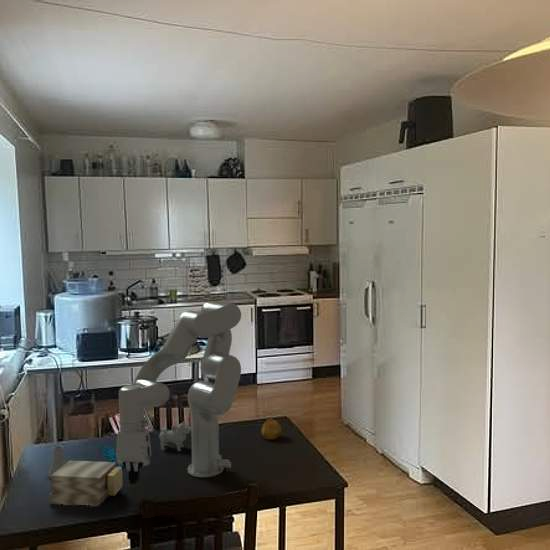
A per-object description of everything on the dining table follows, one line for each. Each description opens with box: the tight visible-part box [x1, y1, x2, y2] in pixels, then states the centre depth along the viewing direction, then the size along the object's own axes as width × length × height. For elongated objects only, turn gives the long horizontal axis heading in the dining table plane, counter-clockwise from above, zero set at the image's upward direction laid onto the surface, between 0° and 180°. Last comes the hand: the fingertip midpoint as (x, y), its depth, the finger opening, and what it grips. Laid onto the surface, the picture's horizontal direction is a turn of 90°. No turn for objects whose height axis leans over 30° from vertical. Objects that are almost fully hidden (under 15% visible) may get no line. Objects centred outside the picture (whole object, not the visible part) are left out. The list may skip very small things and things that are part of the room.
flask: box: [47, 445, 67, 480], centre depth 187 cm, size 7×7×10 cm
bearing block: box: [49, 460, 117, 507], centre depth 172 cm, size 16×14×8 cm
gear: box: [101, 445, 125, 468], centre depth 194 cm, size 11×6×10 cm
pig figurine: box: [158, 421, 191, 452], centre depth 210 cm, size 5×13×11 cm, turn 83°
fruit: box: [261, 418, 282, 440], centre depth 221 cm, size 8×8×8 cm
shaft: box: [106, 466, 124, 497], centre depth 172 cm, size 20×6×6 cm, turn 83°
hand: (134, 481), depth 170 cm, fingers closed
